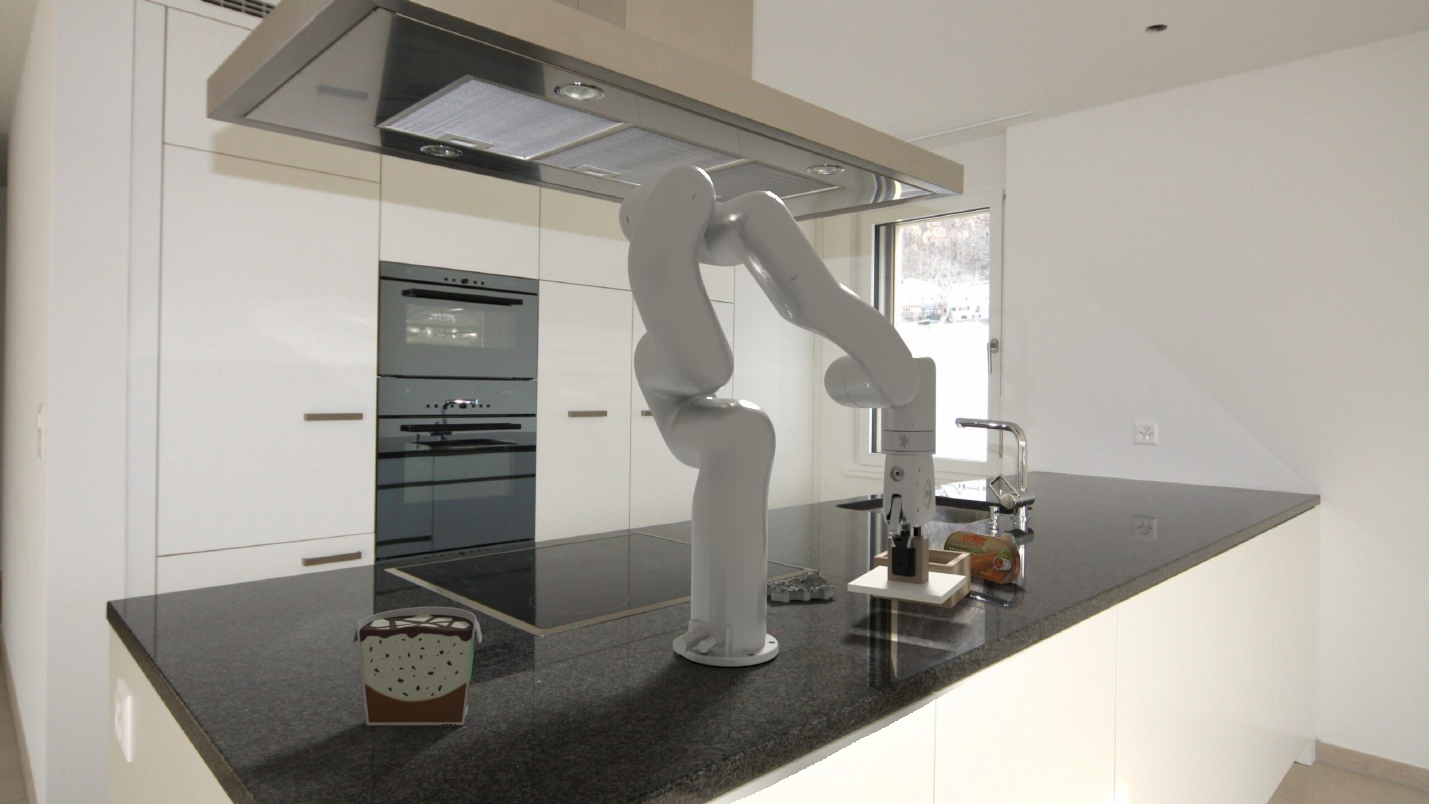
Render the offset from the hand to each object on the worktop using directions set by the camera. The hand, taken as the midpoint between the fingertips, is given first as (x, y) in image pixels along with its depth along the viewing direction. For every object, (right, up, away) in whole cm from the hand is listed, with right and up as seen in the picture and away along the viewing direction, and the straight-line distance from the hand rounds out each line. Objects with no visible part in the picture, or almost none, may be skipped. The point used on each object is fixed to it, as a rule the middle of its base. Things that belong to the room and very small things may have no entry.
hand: (907, 571), depth 113 cm
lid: (0, -2, 0) cm, 2 cm away
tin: (+19, -8, +27) cm, 34 cm away
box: (+6, -7, +14) cm, 17 cm away
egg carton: (-14, -8, +12) cm, 20 cm away
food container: (-56, -7, -33) cm, 66 cm away
